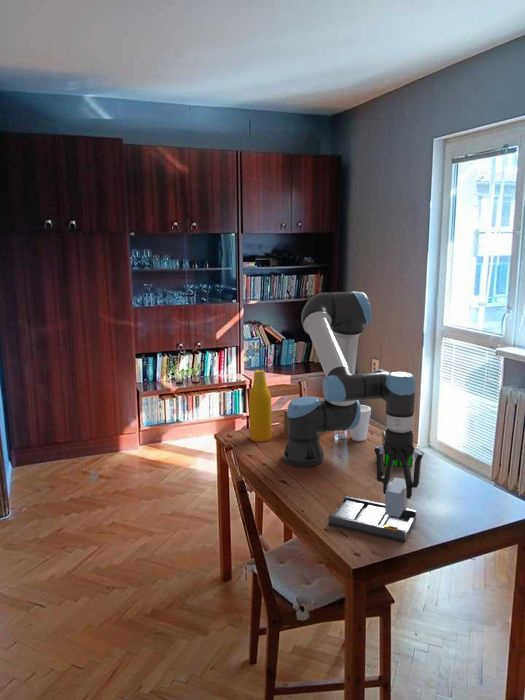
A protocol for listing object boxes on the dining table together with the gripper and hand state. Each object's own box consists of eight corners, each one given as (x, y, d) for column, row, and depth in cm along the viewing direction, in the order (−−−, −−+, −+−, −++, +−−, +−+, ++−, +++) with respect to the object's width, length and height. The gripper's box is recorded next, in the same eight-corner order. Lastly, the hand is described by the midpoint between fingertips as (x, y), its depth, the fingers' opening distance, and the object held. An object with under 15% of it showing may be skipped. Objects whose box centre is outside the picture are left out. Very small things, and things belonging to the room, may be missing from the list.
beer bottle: (254, 443, 226) (253, 374, 221) (246, 436, 235) (244, 369, 229) (275, 440, 230) (274, 372, 224) (266, 433, 238) (265, 367, 232)
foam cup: (356, 443, 224) (356, 413, 221) (342, 436, 232) (343, 407, 229) (375, 439, 228) (375, 409, 226) (361, 432, 236) (361, 403, 234)
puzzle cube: (408, 456, 211) (409, 431, 209) (412, 466, 201) (413, 440, 199) (381, 455, 212) (382, 430, 210) (384, 466, 202) (385, 440, 200)
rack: (328, 525, 161) (328, 514, 161) (344, 504, 173) (344, 494, 173) (404, 542, 151) (404, 531, 150) (415, 519, 163) (416, 508, 163)
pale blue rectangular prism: (385, 514, 154) (385, 490, 153) (394, 499, 163) (394, 477, 162) (399, 517, 152) (400, 493, 151) (407, 502, 161) (408, 479, 160)
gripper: (365, 428, 154) (363, 506, 158) (428, 437, 146) (424, 518, 151) (373, 420, 160) (371, 495, 165) (433, 428, 153) (430, 506, 157)
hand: (397, 506), depth 158 cm, fingers closed on pale blue rectangular prism, 4 cm apart
